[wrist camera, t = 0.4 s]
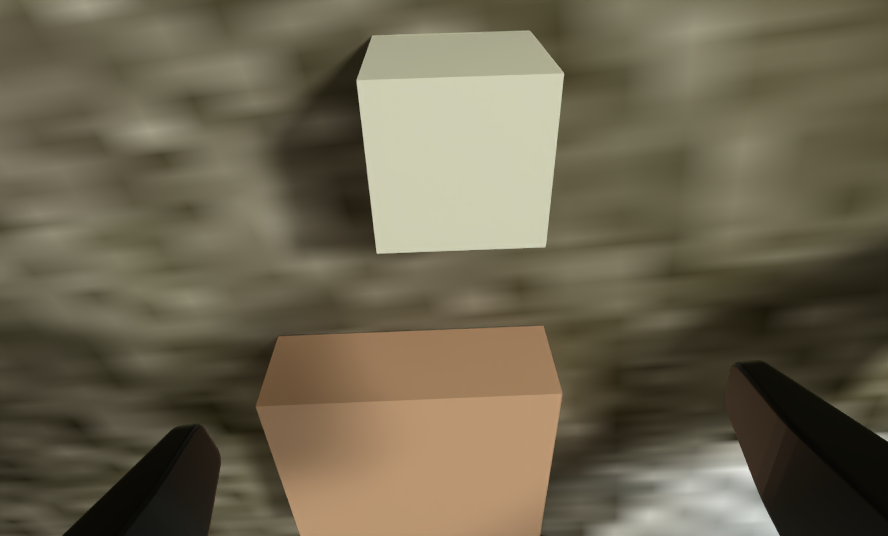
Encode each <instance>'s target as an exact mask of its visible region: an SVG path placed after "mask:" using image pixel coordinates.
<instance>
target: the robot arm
mask: <svg viewBox="0 0 888 536" xmlns="http://www.w3.org/2000/svg"><path fill="white" fill-rule="evenodd" d="M725 406H726V410H727V412H728V415H729V418H730V420H731V423H732V425H733V428H734V431H735V433H736V436H737V438H738V441H739V444H740V446H741V449H742V451H743V454H744V457H745V459H746V462H747V464H748V467H749V470H750V472H751V475H752V477H753V480H754V483H755V485H756V487H757V490H758V492H759V495H760V497H761V499H762V501H763V503H764V506H765V508H766V510H767V512H768V514H769V516H770V518H771V520H772V522H773V524H774V525H775V527H776V529H777V531H778V533H779V535H780V536H888V441H886V440H884V439H883V438H881V437H880V436H878V435H877V434H875V433H874V432H872V431H871V430H869V429H867V428H866V427H864V426H863V425H861V424H860V423H858V422H857V421H855V420H854V419H852V418H851V417H849V416H847V415H846V414H844V413H843V412H841V411H840V410H838V409H837V408H835V407H834V406H832V405H830V404H829V403H827V402H826V401H824V400H823V399H821V398H820V397H818V396H817V395H815V394H814V393H812V392H810V391H809V390H807V389H806V388H804V387H803V386H801V385H800V384H798V383H797V382H795V381H793V380H792V379H790V378H789V377H787V376H786V375H784V374H783V373H781V372H780V371H778V370H777V369H775V368H773V367H772V366H770V365H769V364H767V363H765V362H763V361H761V360H751V361H743V362H737V363H735V364H734V365H733V366H732V368H731V371H730V375H729V379H728V384H727V388H726V392H725ZM220 466H221V457H220V453H219V450H218V449H217V447H216V446H215V444H214V442H213V441H212V439H211V438H210V436H209V435H208V433H207V432H206V430H205V428H204V427H203V426H201V425H200V424H190V425H182V426H177V427H175V428H174V429H172V430H171V431H170V432H169V433H168V434H167V435H166V436H165V437H164V438H163V439H162V440H161V441H160V442H159V443H158V444H157V445H156V446H154V447H153V448H152V449H151V450H150V451H149V452H148V453H147V454H146V455H145V456H144V457H143V458H142V459H141V460H140V461H139V462H138V463H137V464H136V465H135V466H134V467H133V468H132V469H131V470H130V471H129V472H128V473H126V474H125V475H124V476H123V477H122V478H121V479H120V480H119V481H118V482H117V483H116V484H115V485H114V486H113V487H112V488H111V489H110V490H109V491H108V492H107V493H106V494H105V495H104V496H103V497H102V498H101V499H100V500H99V501H97V502H96V503H95V504H94V505H93V506H92V507H91V508H90V509H89V510H88V511H87V512H86V513H85V514H84V515H83V516H82V517H81V518H80V519H79V520H78V521H77V522H76V523H75V524H74V525H73V526H72V527H71V528H70V529H68V530H67V531H66V532H65V533H64V534H63V535H62V536H209V530H210V525H211V519H212V513H213V507H214V501H215V495H216V489H217V484H218V478H219V472H220Z"/></svg>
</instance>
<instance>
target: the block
mask: <svg viewBox="0 0 888 536" xmlns="http://www.w3.org/2000/svg"><path fill="white" fill-rule="evenodd" d="M563 79H564V73H563V71H562V70H561V69H560V68H559V66H558V65H557V64H556V63H555V61H554V60H553V59H552V58H551V56H550V55H549V54H548V53H547V51H546V50H545V49H544V48H543V46H542V45H541V44H540V43H539V41H538V40H537V39H536V38H535V36H534V35H533V34H532V33H531V31H501V32H470V33H438V34H407V35H376V36H372V38H371V40H370V43H369V46H368V49H367V52H366V55H365V57H364V60H363V63H362V66H361V69H360V72H359V75H358V77H357V80H356V81H357V89H358V98H359V106H360V115H361V123H362V132H363V141H364V149H365V158H366V166H367V175H368V183H369V192H370V200H371V209H372V218H373V226H374V235H375V243H376V252H377V254H379V253H405V252H431V251H457V250H483V249H509V248H535V247H546V240H547V230H548V221H549V211H550V202H551V192H552V183H553V173H554V164H555V154H556V145H557V135H558V126H559V117H560V107H561V98H562V88H563Z"/></svg>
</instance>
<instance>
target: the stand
mask: <svg viewBox="0 0 888 536" xmlns="http://www.w3.org/2000/svg"><path fill="white" fill-rule="evenodd" d="M561 400H562V390H561V387H560V383H559V380H558V376H557V373H556V369H555V365H554V362H553V358H552V355H551V351H550V348H549V344H548V341H547V337H546V333H545V330H544V326H523V327H498V328H473V329H448V330H423V331H398V332H373V333H348V334H323V335H298V336H278V339H277V342H276V345H275V348H274V351H273V354H272V357H271V360H270V364H269V367H268V370H267V373H266V376H265V379H264V382H263V385H262V388H261V391H260V394H259V397H258V400H257V403H256V409H257V412H258V415H259V418H260V421H261V424H262V427H263V430H264V432H265V435H266V438H267V441H268V444H269V447H270V450H271V453H272V455H273V458H274V461H275V464H276V467H277V470H278V473H279V476H280V478H281V481H282V484H283V487H284V490H285V493H286V496H287V499H288V501H289V504H290V507H291V510H292V513H293V516H294V519H295V522H296V524H297V527H298V530H299V533H300V536H540V532H541V526H542V519H543V513H544V507H545V500H546V494H547V488H548V482H549V475H550V469H551V463H552V456H553V450H554V444H555V437H556V431H557V425H558V419H559V412H560V406H561Z"/></svg>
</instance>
